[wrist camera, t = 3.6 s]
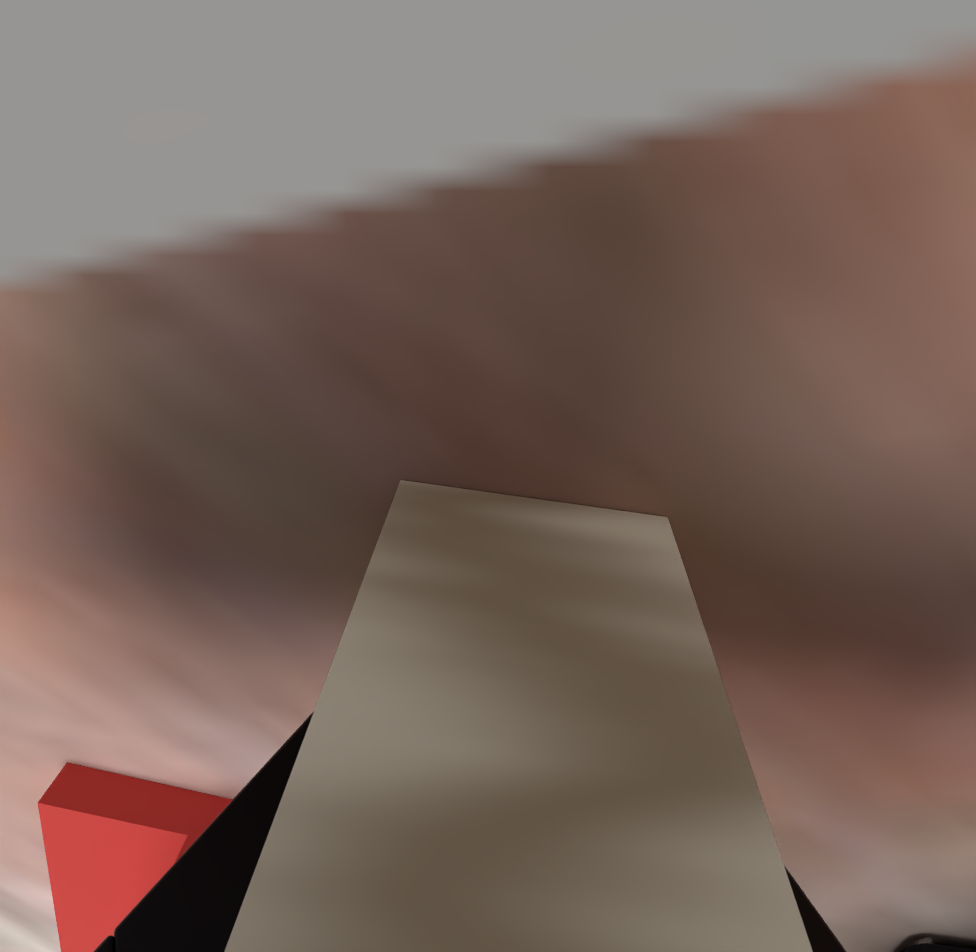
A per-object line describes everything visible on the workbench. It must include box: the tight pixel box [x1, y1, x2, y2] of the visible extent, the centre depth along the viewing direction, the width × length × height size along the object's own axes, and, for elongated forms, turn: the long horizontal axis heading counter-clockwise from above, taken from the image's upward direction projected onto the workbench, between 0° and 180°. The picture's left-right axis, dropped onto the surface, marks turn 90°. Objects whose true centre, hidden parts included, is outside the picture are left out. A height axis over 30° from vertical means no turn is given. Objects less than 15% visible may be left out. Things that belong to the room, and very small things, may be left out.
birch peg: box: [224, 480, 813, 952], centre depth 7 cm, size 4×4×10 cm
